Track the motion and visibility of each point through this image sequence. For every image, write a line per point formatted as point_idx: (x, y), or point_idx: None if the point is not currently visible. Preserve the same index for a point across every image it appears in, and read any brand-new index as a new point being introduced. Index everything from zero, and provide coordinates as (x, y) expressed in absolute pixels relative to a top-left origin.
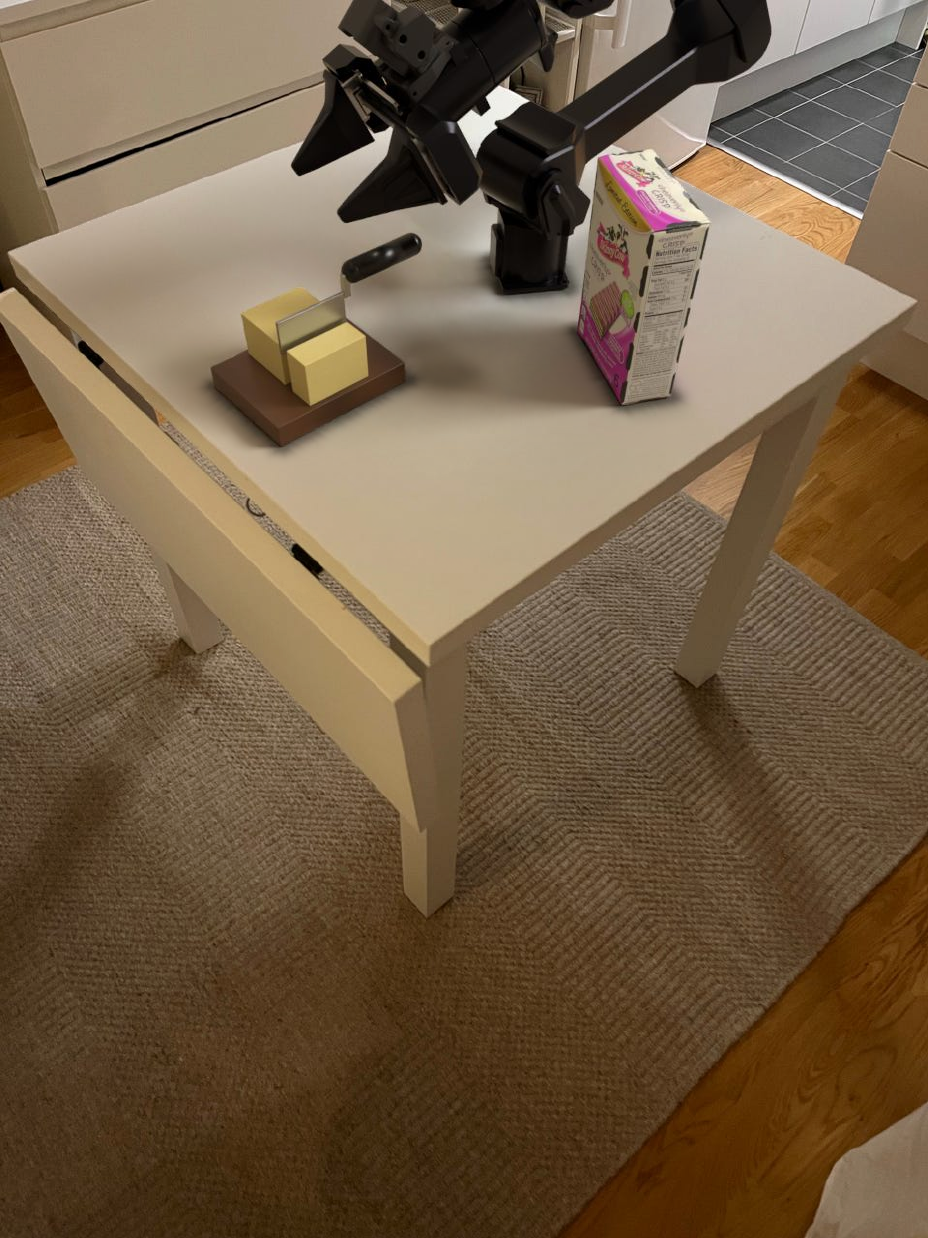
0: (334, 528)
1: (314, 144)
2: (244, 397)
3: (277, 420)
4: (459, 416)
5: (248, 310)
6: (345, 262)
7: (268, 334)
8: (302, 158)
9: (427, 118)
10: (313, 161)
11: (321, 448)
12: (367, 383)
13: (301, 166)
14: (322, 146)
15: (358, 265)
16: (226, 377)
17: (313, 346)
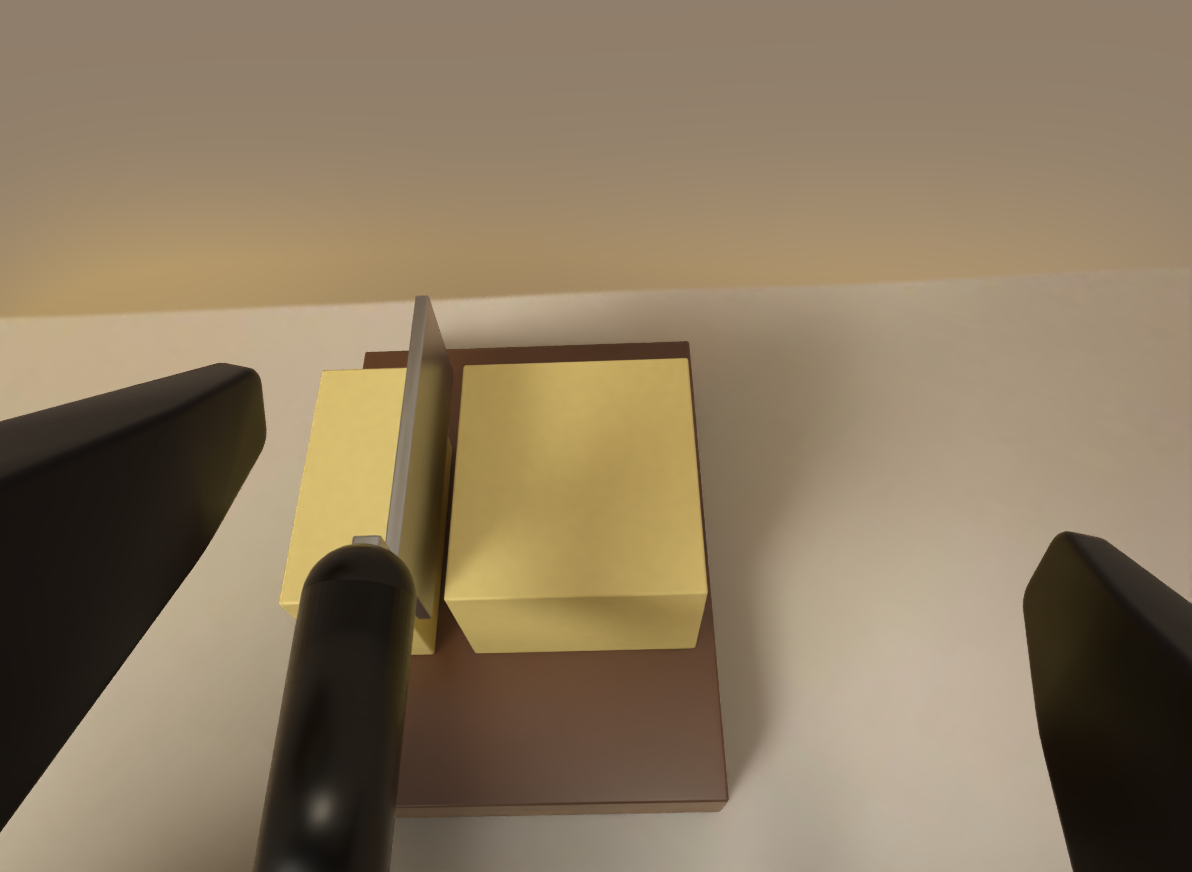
0: (103, 348)
1: (1179, 722)
2: (521, 347)
3: (386, 363)
4: (62, 849)
5: (685, 381)
6: (373, 562)
7: (527, 365)
8: (1089, 602)
9: None
10: (1073, 706)
11: (304, 454)
12: None
13: (1057, 604)
14: (1164, 812)
15: (306, 597)
16: (622, 351)
17: (374, 436)
